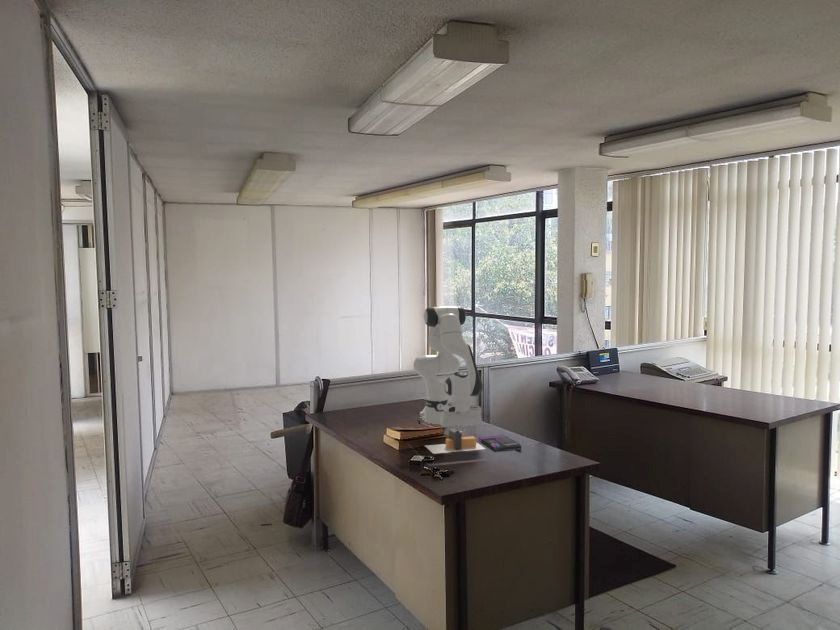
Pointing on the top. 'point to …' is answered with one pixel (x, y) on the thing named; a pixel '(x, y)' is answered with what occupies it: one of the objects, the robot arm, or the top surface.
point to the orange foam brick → (465, 442)
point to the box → (500, 443)
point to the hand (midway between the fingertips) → (461, 435)
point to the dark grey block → (456, 438)
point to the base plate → (442, 449)
